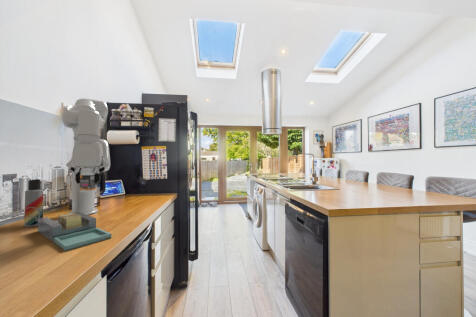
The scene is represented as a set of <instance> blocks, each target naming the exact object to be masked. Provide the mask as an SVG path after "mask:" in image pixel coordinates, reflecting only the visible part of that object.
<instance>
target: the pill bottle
mask: <svg viewBox="0 0 476 317" xmlns="http://www.w3.org/2000/svg"><path fill="white" fill-rule="evenodd" d="M95 174H96V172H95V168H94V167H82V173H81V174H80V192H92V191H95V192H96V190H97V184H98V183H95Z"/></svg>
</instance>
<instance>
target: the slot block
mask: <svg viewBox="0 0 476 317" xmlns="http://www.w3.org/2000/svg"><path fill="white" fill-rule="evenodd" d="M73 213H74V214H76V215H80V216H81V225H80V226H75V227H71V228H65V227H63V226H62V225H61V224H59V223H58V222H59V219H56V220H55V219H54V220H53V219H51V218H49V217H47V216H43V218H38V226H37V232H38V233H40V234H41V235H43V236H44V237H45V238H47V239H48V240H49V241H50V242H53V239H54V238H55V237H60V236H64V235H68V234H72V233H76V232H81V231H85V230H89V229H93V228H97V218H96V217H94V216H90V215H86V214H83V213H80V212H73ZM53 243H54V242H53Z"/></svg>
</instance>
